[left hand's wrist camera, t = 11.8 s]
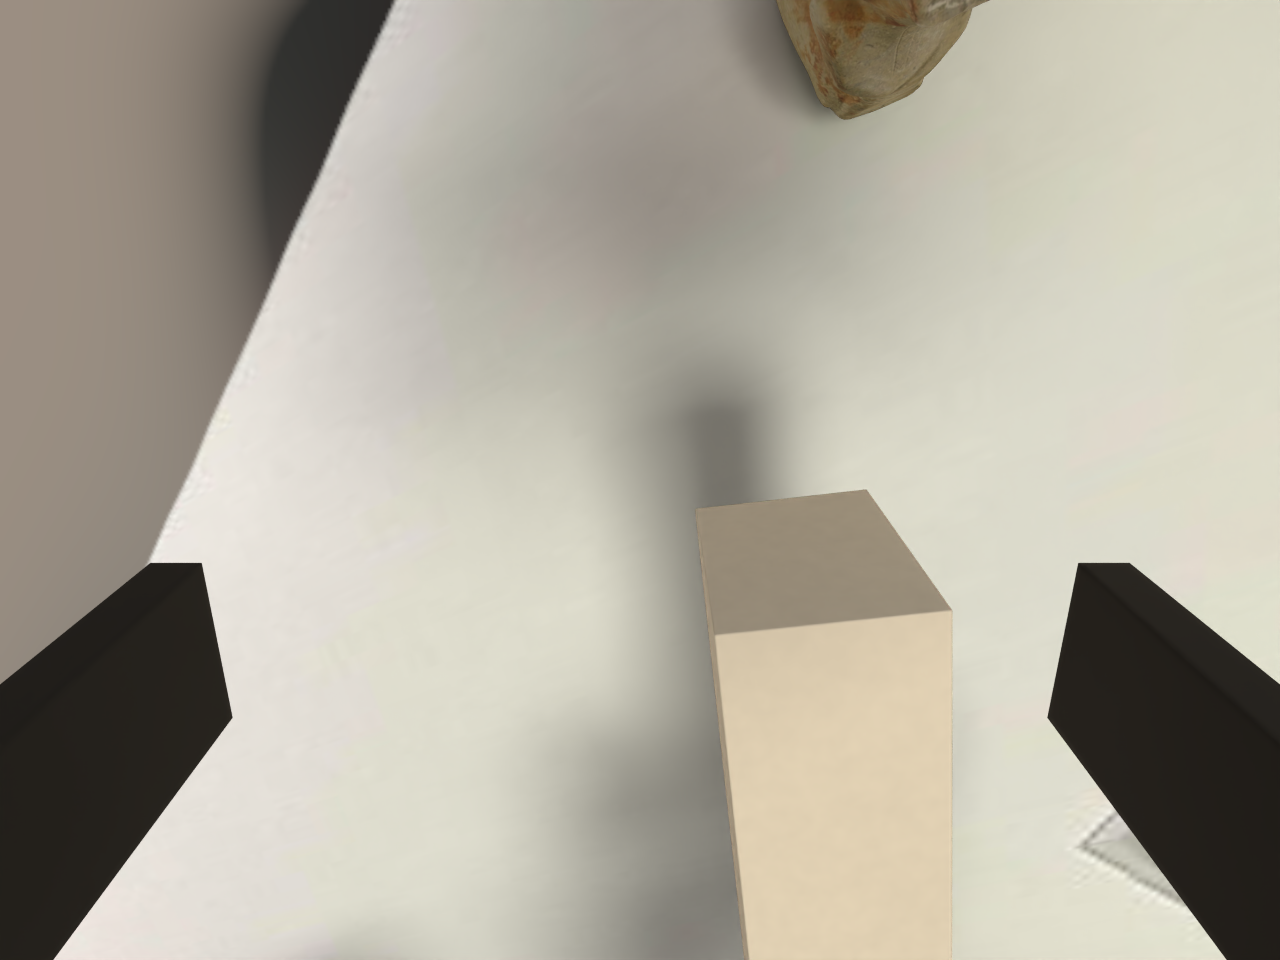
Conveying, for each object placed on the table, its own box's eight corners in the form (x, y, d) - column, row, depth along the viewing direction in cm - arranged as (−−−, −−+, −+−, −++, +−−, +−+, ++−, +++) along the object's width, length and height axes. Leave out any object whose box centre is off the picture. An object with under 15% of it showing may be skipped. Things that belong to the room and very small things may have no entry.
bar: (694, 508, 29) (713, 635, 21) (866, 488, 29) (953, 610, 21) (752, 1034, 38) (781, 1268, 30) (885, 1023, 37) (951, 1257, 29)
